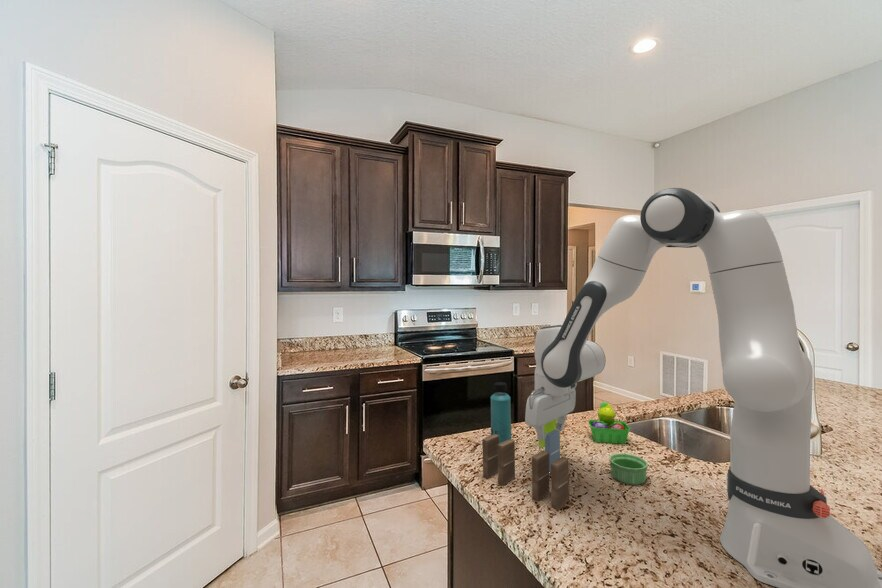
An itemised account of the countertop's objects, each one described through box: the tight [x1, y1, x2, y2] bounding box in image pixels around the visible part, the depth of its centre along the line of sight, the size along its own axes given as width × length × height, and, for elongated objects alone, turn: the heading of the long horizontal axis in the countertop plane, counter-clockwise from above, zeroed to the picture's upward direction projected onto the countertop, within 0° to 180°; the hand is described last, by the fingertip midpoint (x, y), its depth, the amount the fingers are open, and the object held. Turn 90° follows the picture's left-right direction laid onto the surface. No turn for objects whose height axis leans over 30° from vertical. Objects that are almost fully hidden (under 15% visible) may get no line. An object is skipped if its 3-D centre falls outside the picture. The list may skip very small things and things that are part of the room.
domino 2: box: [497, 438, 516, 487], centre depth 98 cm, size 2×5×10 cm, turn 133°
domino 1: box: [482, 434, 499, 480], centre depth 101 cm, size 2×5×10 cm, turn 134°
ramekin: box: [608, 453, 649, 485], centre depth 99 cm, size 9×9×4 cm
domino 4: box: [544, 430, 561, 474], centre depth 104 cm, size 2×5×10 cm, turn 134°
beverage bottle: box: [490, 381, 512, 444], centre depth 119 cm, size 6×7×20 cm
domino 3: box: [531, 449, 551, 503], centre depth 91 cm, size 2×5×10 cm, turn 134°
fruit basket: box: [587, 401, 631, 445], centre depth 124 cm, size 11×9×11 cm
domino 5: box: [550, 456, 570, 512], centre depth 87 cm, size 2×5×10 cm, turn 134°
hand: (550, 434), depth 104 cm, fingers open, 8 cm apart
